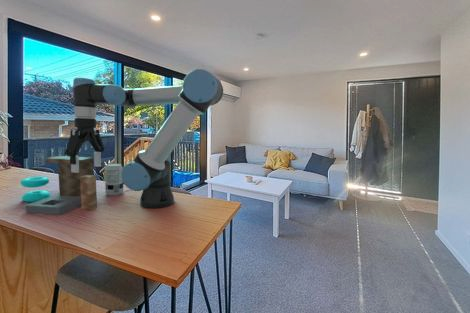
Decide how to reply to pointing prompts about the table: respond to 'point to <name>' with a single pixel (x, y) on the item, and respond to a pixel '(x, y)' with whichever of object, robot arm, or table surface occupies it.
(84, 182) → the peg
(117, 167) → the supplement can
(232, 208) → the table surface
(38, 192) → the donuts
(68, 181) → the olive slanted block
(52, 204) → the socket
